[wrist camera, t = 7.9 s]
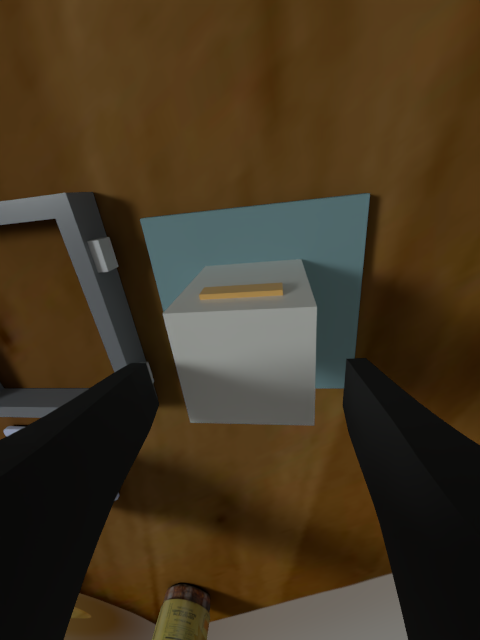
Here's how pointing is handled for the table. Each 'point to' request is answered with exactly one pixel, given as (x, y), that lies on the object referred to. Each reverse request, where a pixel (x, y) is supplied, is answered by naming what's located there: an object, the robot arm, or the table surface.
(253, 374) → the block
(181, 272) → the mat
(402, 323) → the table surface
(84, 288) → the case
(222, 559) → the table surface
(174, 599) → the sauce bottle
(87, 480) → the robot arm
